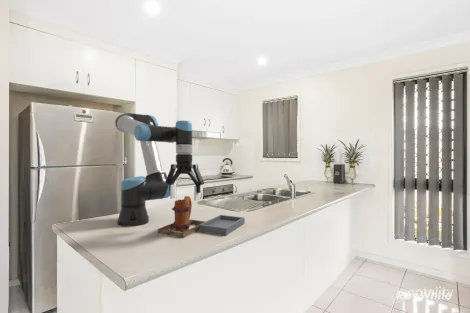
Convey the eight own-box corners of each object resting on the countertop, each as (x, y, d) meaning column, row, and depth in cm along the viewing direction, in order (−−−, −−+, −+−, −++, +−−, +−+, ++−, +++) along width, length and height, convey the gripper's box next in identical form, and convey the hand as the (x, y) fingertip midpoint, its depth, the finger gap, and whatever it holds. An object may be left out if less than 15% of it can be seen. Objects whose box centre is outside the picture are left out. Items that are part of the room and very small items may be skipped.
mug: (186, 234, 110) (186, 200, 110) (168, 233, 112) (168, 200, 112) (197, 225, 125) (197, 195, 125) (182, 224, 126) (182, 194, 126)
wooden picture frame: (157, 233, 112) (157, 229, 112) (184, 222, 130) (184, 218, 130) (183, 237, 106) (183, 233, 106) (207, 225, 125) (207, 221, 125)
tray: (199, 231, 116) (199, 224, 115) (220, 220, 135) (220, 214, 135) (226, 235, 110) (226, 228, 110) (244, 223, 129) (244, 217, 129)
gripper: (157, 154, 120) (158, 198, 120) (202, 153, 109) (203, 202, 109) (168, 154, 127) (168, 196, 127) (211, 153, 116) (211, 199, 116)
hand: (184, 199), depth 118 cm, fingers open, 13 cm apart
